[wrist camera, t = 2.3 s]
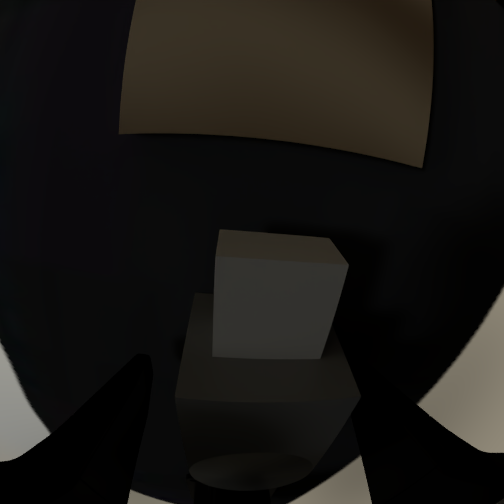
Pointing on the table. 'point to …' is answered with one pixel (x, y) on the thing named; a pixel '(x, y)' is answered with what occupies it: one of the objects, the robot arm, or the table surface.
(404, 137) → the trivet
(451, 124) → the table surface
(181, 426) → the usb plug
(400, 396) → the robot arm
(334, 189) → the table surface
